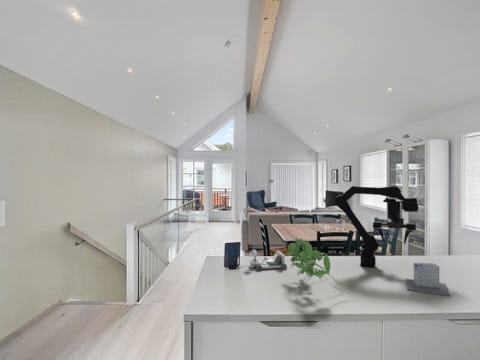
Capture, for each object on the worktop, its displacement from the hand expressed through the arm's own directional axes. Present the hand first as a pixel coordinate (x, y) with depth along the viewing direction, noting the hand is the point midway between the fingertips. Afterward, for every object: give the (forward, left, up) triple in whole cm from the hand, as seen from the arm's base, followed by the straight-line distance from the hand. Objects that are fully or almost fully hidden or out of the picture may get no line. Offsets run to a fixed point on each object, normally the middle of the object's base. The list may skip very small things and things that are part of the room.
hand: (393, 243), depth 151 cm
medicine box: (+12, -26, -12) cm, 31 cm away
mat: (+12, -26, -12) cm, 31 cm away
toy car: (-57, -27, -13) cm, 64 cm away
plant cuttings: (-28, -45, -12) cm, 54 cm away
